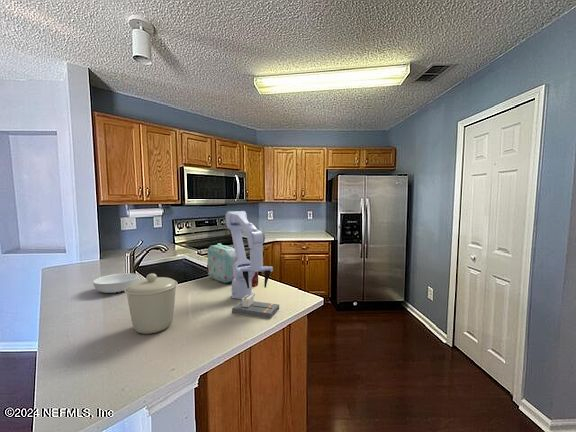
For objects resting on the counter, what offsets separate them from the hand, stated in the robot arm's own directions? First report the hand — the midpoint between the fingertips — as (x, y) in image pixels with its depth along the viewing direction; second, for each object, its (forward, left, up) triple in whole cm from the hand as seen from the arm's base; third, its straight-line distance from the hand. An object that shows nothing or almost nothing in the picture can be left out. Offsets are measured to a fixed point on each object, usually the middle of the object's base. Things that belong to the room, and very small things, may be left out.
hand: (256, 287), depth 124 cm
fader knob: (-2, -5, -7) cm, 8 cm away
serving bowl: (-82, -3, -9) cm, 83 cm away
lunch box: (-38, +32, -9) cm, 50 cm away
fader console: (+2, -5, -9) cm, 10 cm away
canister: (-29, -31, -9) cm, 43 cm away
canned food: (-16, +27, -9) cm, 33 cm away
